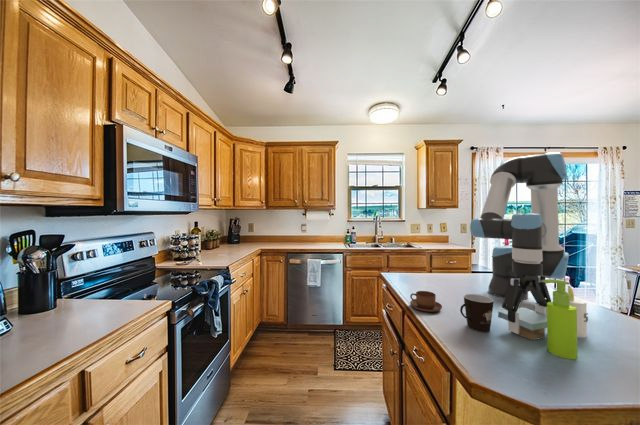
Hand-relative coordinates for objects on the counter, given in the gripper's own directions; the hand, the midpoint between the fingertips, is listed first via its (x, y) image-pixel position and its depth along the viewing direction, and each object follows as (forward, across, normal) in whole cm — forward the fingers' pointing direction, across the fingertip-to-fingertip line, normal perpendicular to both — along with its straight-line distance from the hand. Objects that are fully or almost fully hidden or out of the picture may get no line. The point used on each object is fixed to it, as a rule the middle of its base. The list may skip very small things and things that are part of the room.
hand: (527, 328), depth 78 cm
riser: (+2, 0, 0) cm, 2 cm away
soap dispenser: (+2, +4, +10) cm, 11 cm away
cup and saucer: (+2, +15, -28) cm, 32 cm away
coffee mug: (+2, +12, -9) cm, 15 cm away
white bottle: (+2, -15, +4) cm, 15 cm away
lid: (-3, 0, 0) cm, 3 cm away
